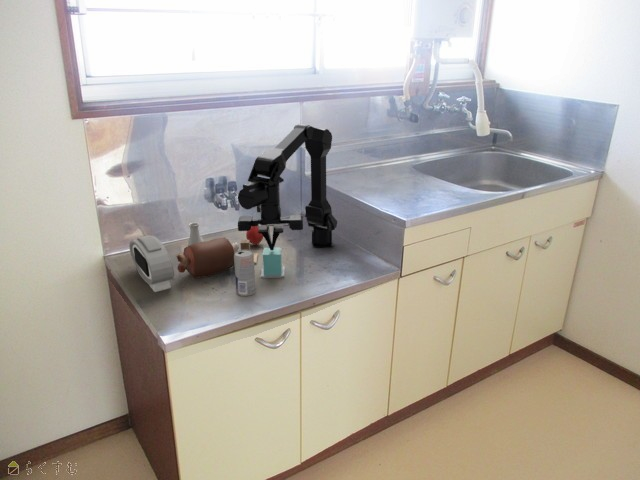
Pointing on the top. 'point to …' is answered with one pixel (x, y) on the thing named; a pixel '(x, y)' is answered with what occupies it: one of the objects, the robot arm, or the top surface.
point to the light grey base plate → (273, 275)
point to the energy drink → (244, 272)
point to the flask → (194, 234)
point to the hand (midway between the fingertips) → (272, 249)
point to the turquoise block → (272, 261)
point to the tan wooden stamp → (248, 248)
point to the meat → (207, 257)
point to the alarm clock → (152, 262)
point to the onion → (254, 235)
